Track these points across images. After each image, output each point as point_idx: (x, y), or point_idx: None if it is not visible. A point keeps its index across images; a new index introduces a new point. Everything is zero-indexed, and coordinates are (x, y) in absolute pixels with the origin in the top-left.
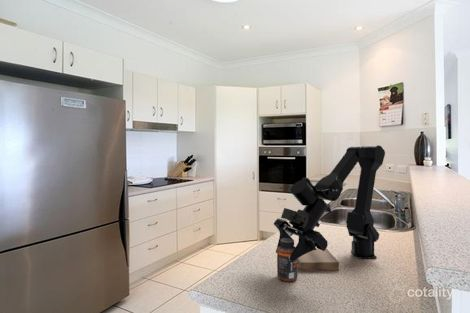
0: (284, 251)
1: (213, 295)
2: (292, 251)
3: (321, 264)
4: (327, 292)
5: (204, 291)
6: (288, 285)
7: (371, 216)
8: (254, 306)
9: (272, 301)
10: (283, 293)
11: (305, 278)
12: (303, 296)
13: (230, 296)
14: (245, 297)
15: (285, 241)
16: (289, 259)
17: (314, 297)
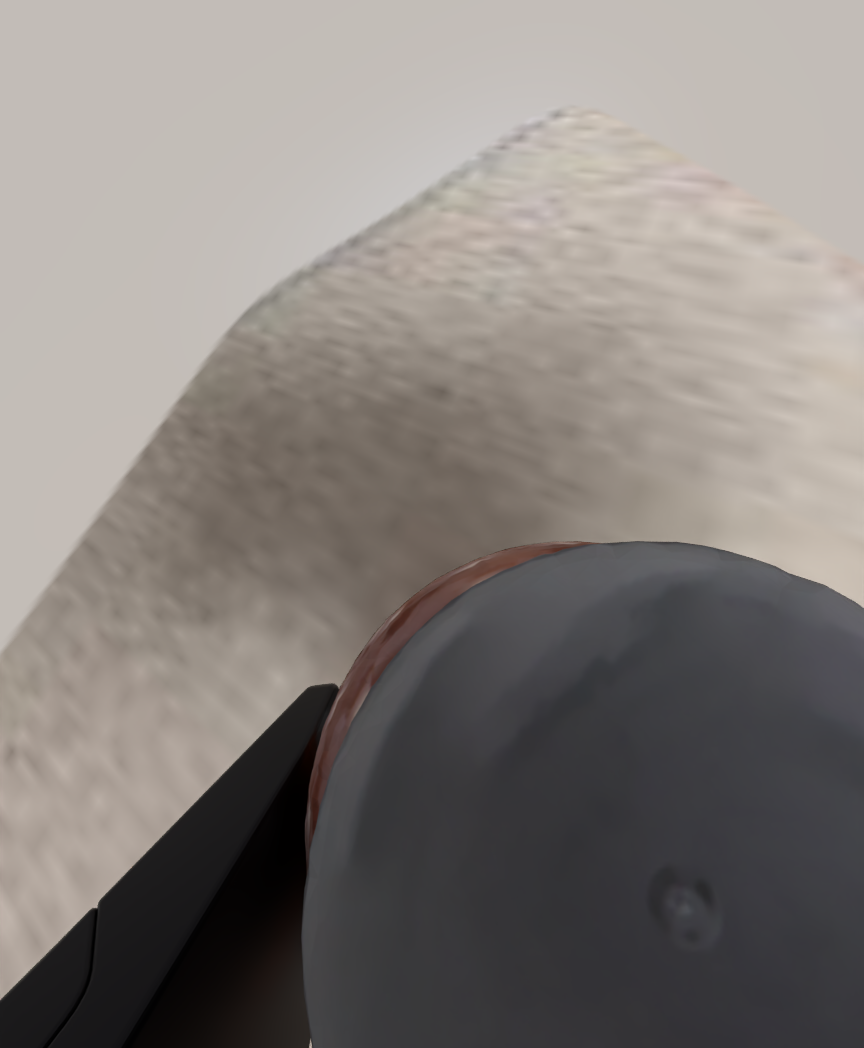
0: (408, 607)
1: (473, 169)
2: (311, 814)
3: None
4: None
5: (539, 137)
6: None
7: None
8: (253, 321)
9: (239, 432)
10: (285, 551)
11: None
12: (161, 680)
13: (420, 238)
14: (368, 305)
15: (487, 667)
16: (332, 686)
17: (94, 765)
